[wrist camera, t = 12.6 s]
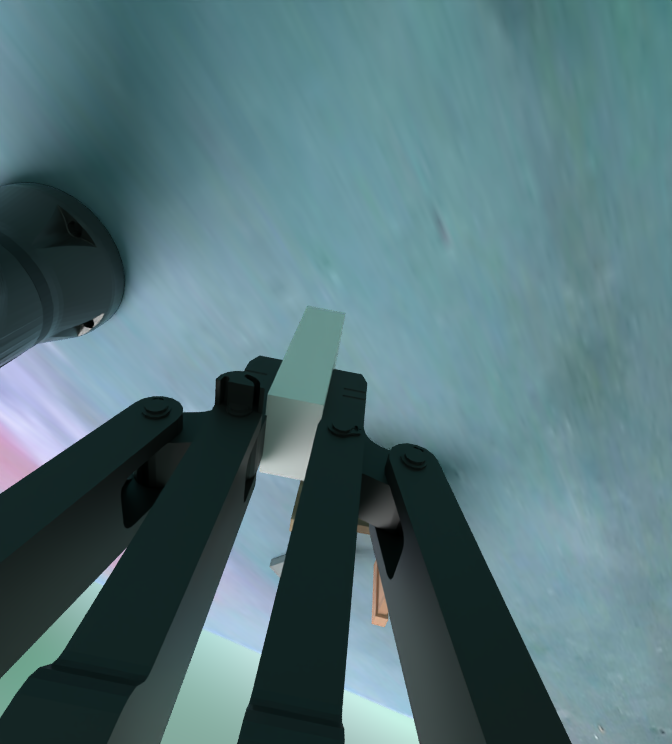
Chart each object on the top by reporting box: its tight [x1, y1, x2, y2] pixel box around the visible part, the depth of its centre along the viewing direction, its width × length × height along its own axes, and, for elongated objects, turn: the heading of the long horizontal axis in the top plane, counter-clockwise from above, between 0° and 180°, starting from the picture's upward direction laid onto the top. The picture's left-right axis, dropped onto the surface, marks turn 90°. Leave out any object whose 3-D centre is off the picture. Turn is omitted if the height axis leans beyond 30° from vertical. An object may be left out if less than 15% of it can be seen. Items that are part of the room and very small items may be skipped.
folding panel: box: [372, 561, 388, 627], centre depth 55 cm, size 14×2×8 cm, turn 167°
